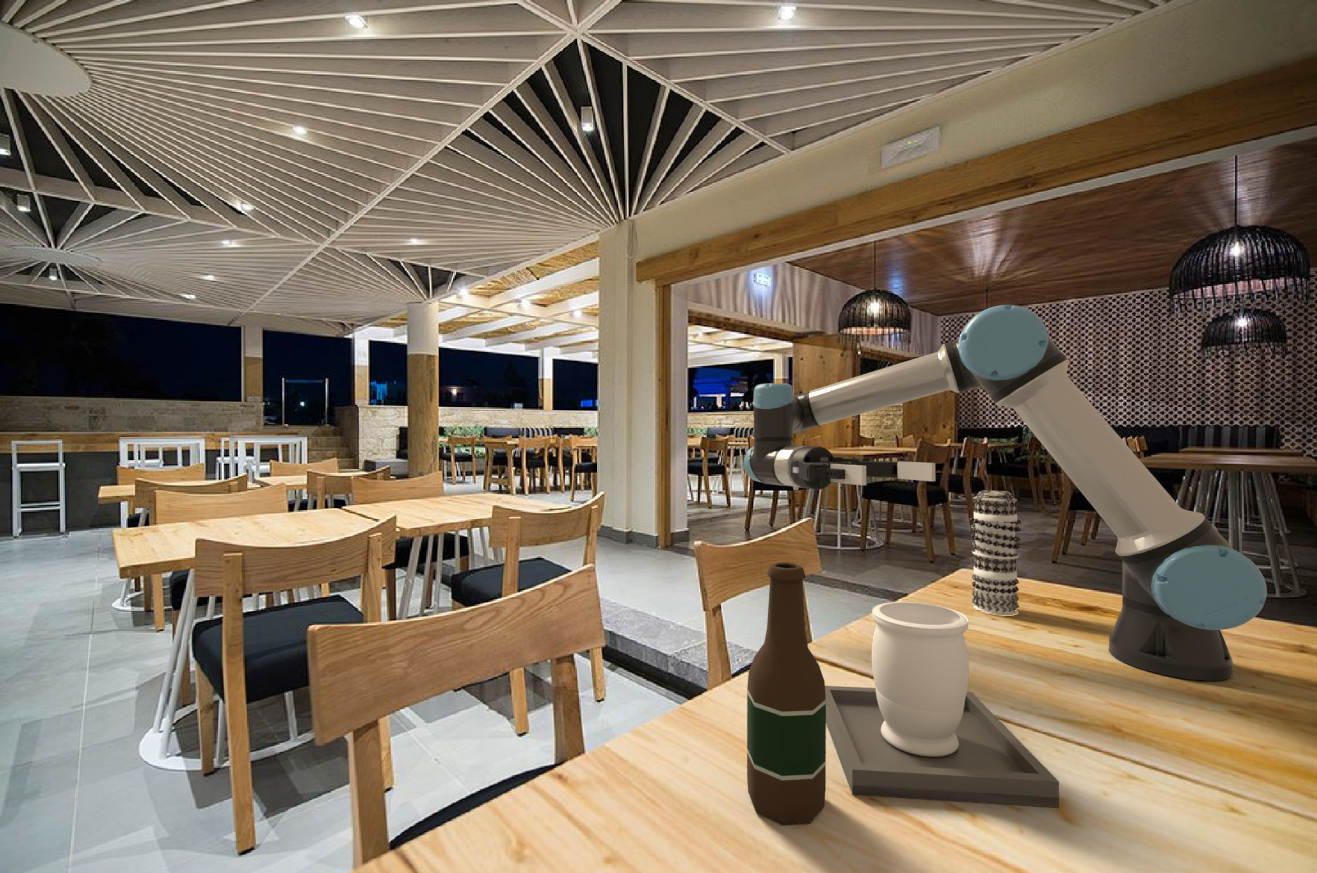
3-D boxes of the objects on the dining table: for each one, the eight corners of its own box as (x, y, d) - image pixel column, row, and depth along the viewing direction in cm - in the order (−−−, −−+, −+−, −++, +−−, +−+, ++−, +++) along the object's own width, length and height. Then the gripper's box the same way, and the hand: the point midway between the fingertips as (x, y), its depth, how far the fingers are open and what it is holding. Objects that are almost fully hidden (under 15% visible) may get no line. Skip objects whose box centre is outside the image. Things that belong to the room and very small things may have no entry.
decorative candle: (1020, 620, 116) (1020, 494, 115) (967, 612, 121) (968, 492, 121) (1021, 608, 123) (1021, 490, 123) (972, 601, 128) (972, 488, 128)
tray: (971, 711, 78) (971, 692, 78) (1058, 807, 58) (1058, 781, 58) (819, 704, 80) (819, 685, 80) (852, 794, 60) (852, 769, 60)
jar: (920, 773, 62) (920, 632, 62) (853, 728, 71) (852, 606, 71) (990, 751, 66) (990, 620, 66) (917, 711, 76) (917, 596, 76)
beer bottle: (780, 839, 53) (780, 578, 53) (731, 792, 60) (731, 561, 60) (842, 813, 57) (843, 569, 57) (790, 772, 64) (790, 554, 64)
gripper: (859, 485, 109) (960, 495, 89) (746, 491, 98) (832, 504, 79) (859, 445, 109) (959, 446, 89) (746, 447, 98) (832, 449, 79)
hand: (900, 473), depth 84 cm, fingers open, 13 cm apart
